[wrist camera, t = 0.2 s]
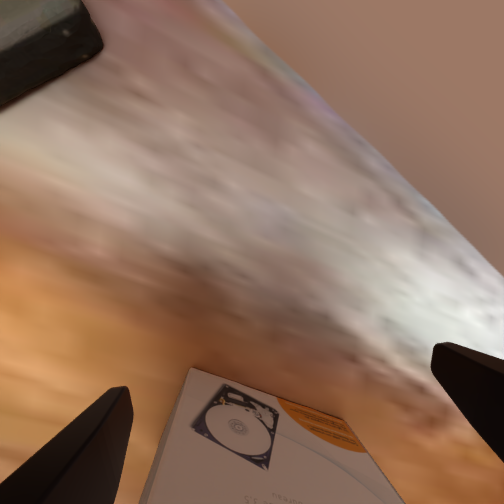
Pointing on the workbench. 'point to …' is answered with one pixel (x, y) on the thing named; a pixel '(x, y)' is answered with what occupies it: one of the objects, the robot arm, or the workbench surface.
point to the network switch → (42, 42)
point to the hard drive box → (258, 452)
